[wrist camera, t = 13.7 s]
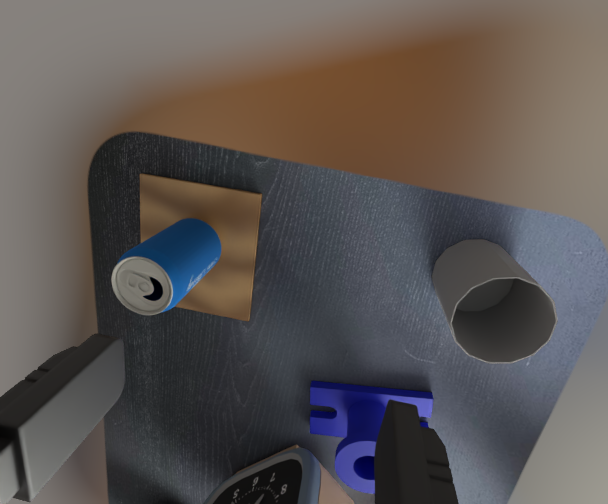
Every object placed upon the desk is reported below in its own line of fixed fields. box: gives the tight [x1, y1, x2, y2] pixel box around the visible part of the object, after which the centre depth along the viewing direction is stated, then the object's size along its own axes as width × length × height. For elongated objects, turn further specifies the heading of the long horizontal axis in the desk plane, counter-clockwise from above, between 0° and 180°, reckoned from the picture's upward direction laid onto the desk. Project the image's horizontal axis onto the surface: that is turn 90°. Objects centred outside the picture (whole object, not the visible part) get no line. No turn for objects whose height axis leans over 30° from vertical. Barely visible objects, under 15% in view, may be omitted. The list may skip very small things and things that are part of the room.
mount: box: [310, 381, 433, 494], centre depth 46 cm, size 15×8×9 cm, turn 90°
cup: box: [432, 239, 558, 363], centre depth 37 cm, size 8×8×10 cm
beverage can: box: [111, 218, 221, 315], centre depth 39 cm, size 6×6×12 cm
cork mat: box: [140, 173, 262, 321], centre depth 45 cm, size 16×14×1 cm
